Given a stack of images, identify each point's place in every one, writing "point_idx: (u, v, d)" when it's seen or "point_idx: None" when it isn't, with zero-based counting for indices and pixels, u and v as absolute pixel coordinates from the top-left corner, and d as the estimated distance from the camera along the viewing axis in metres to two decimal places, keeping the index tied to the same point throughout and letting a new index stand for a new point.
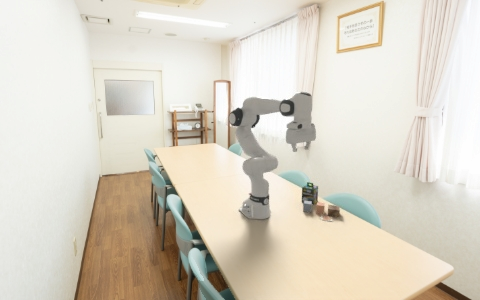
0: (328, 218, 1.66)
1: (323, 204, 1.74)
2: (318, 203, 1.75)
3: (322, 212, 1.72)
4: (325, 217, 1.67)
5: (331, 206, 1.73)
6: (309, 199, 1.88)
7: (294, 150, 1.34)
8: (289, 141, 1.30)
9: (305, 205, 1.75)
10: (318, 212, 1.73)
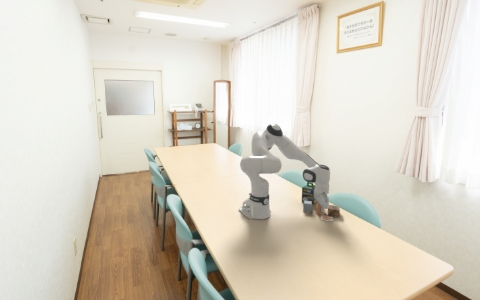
0: (328, 218, 1.66)
1: None
2: (318, 203, 1.75)
3: (322, 212, 1.72)
4: (325, 217, 1.67)
5: (331, 206, 1.73)
6: (309, 199, 1.88)
7: None
8: None
9: (305, 205, 1.75)
10: (318, 212, 1.73)
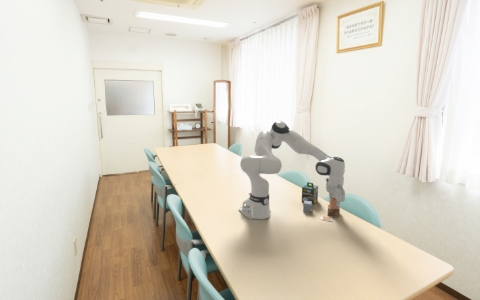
0: (328, 218, 1.66)
1: None
2: (332, 198, 1.71)
3: (337, 207, 1.69)
4: (325, 217, 1.67)
5: None
6: (309, 199, 1.88)
7: None
8: None
9: (305, 205, 1.75)
10: (333, 207, 1.69)
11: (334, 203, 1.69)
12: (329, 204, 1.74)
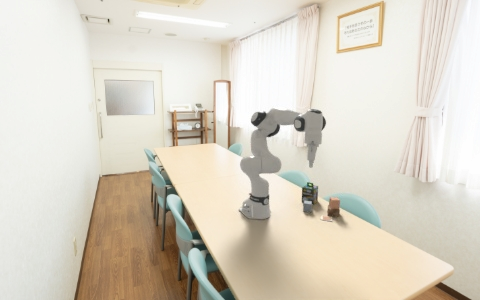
0: (328, 218, 1.66)
1: (337, 198, 1.71)
2: (332, 198, 1.71)
3: (337, 207, 1.69)
4: (325, 217, 1.67)
5: None
6: (309, 199, 1.88)
7: None
8: None
9: (305, 205, 1.75)
10: (333, 207, 1.69)
11: (335, 203, 1.69)
12: (329, 204, 1.74)
